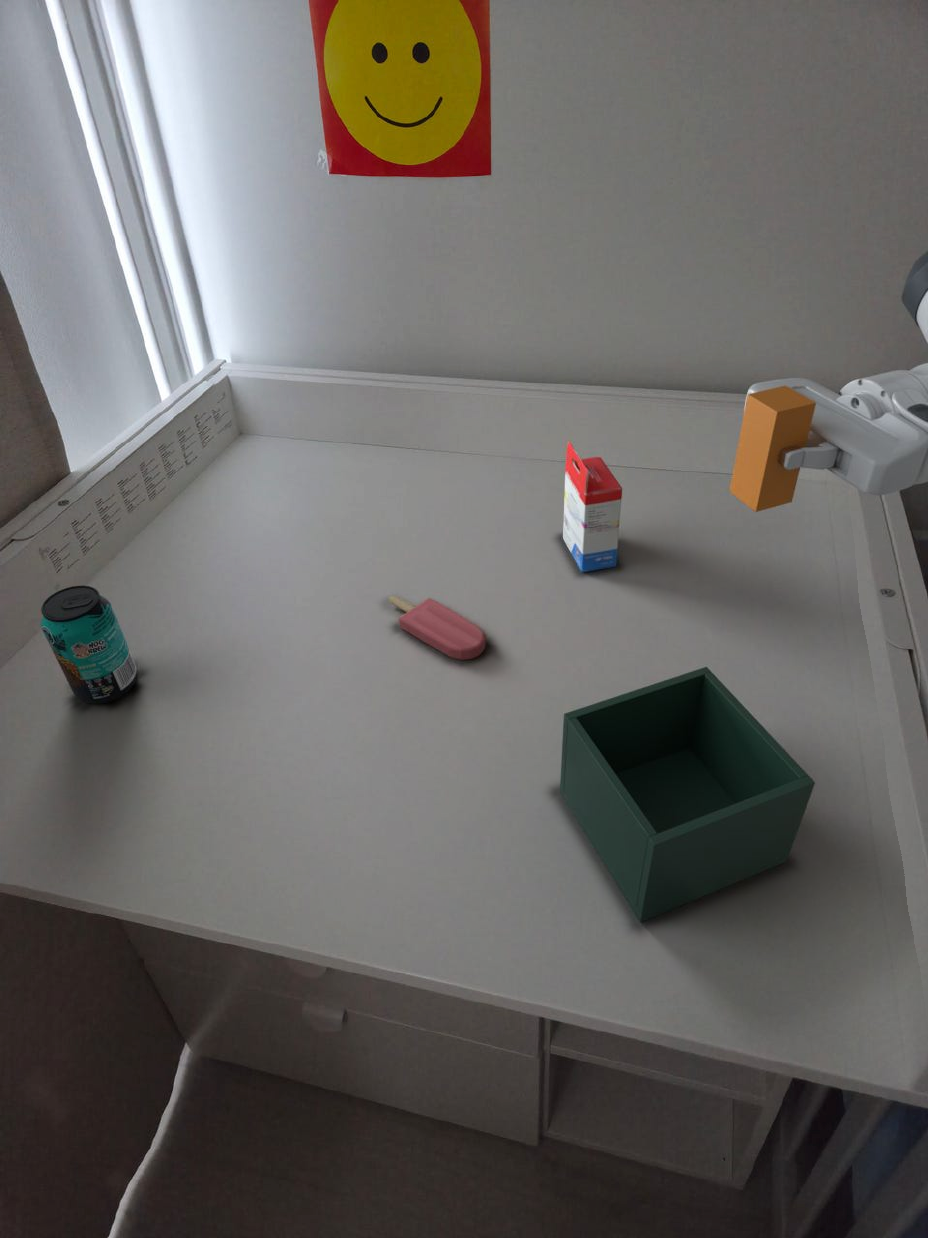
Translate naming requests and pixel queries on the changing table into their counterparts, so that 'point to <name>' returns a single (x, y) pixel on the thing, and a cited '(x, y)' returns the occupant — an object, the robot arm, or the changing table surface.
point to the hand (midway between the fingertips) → (764, 447)
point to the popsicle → (441, 628)
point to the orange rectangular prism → (770, 446)
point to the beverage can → (88, 644)
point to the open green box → (680, 790)
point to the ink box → (591, 512)
